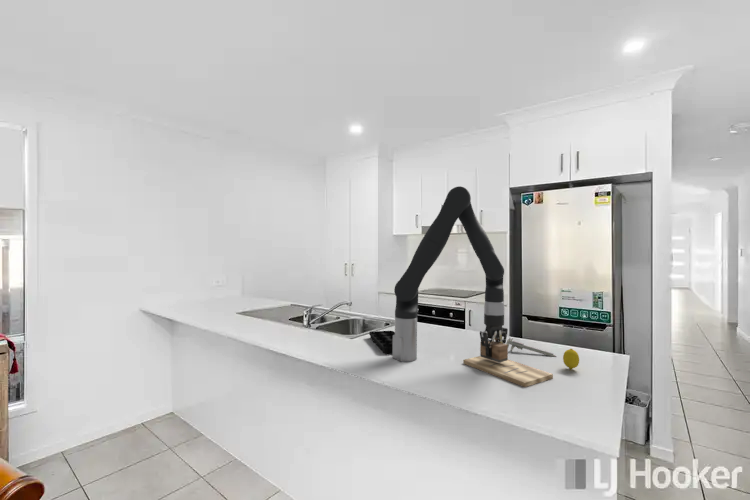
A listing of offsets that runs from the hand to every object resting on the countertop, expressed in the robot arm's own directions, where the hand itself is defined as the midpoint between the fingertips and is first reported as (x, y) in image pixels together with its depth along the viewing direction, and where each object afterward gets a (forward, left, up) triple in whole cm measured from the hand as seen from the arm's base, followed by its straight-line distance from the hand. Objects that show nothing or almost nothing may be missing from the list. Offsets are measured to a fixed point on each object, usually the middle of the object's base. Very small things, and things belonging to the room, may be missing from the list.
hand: (493, 355), depth 145 cm
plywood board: (0, -6, -4) cm, 7 cm away
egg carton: (-19, +45, -5) cm, 49 cm away
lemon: (+23, -18, -4) cm, 29 cm away
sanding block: (0, 0, -1) cm, 1 cm away
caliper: (+28, +3, -5) cm, 28 cm away
